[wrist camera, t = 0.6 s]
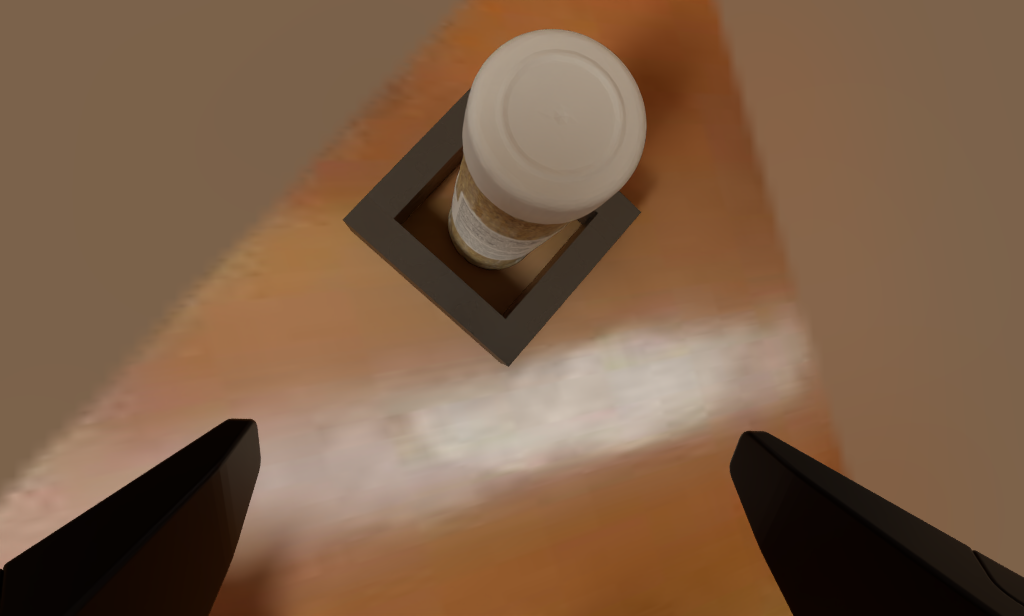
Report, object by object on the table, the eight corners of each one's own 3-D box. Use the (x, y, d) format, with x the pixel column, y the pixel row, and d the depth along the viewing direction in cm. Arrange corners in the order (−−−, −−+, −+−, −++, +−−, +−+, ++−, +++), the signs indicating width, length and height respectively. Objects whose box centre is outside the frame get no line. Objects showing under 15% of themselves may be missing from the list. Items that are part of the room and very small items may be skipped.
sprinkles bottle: (490, 163, 25) (559, -18, 12) (555, 227, 26) (689, 120, 13) (426, 226, 25) (425, 107, 12) (493, 291, 25) (567, 249, 12)
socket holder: (500, 362, 25) (508, 366, 23) (351, 230, 24) (342, 219, 22) (621, 223, 26) (641, 212, 24) (484, 93, 26) (490, 67, 23)
